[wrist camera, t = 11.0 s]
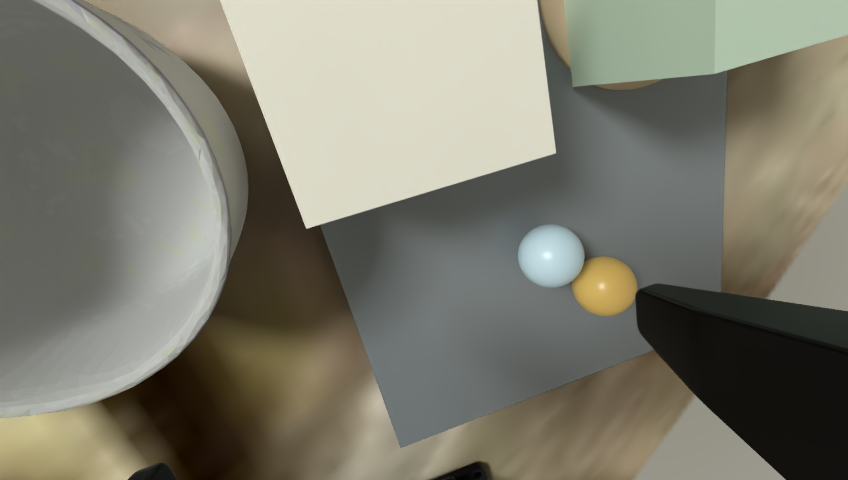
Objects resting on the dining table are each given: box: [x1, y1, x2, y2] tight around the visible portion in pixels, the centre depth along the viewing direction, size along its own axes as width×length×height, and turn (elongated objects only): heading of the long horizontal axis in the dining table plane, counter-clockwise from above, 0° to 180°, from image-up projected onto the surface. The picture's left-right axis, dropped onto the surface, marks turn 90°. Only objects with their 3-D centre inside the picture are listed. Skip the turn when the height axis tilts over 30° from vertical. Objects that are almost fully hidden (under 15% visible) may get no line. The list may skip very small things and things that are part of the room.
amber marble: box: [572, 256, 637, 316], centre depth 20 cm, size 3×3×3 cm
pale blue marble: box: [518, 224, 585, 288], centre depth 19 cm, size 3×3×3 cm
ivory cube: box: [220, 0, 556, 229], centre depth 13 cm, size 7×7×7 cm
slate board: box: [320, 0, 727, 448], centre depth 19 cm, size 26×21×1 cm
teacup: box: [0, 0, 248, 418], centre depth 12 cm, size 14×11×8 cm
